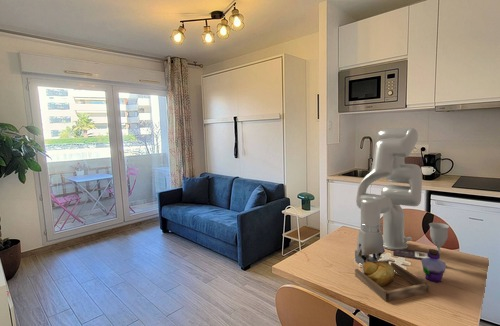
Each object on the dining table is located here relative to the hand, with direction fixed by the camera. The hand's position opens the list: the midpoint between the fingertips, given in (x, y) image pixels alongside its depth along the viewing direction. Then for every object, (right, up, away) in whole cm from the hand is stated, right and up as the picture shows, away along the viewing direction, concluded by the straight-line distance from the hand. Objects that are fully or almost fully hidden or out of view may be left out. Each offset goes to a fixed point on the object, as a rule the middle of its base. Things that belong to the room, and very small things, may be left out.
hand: (370, 267), depth 118 cm
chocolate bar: (+26, +1, +11) cm, 28 cm away
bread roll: (+1, -2, -8) cm, 9 cm away
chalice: (+30, +1, +1) cm, 30 cm away
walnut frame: (+2, -2, -10) cm, 11 cm away
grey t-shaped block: (-1, -1, +3) cm, 3 cm away
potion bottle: (+21, -1, -9) cm, 23 cm away
